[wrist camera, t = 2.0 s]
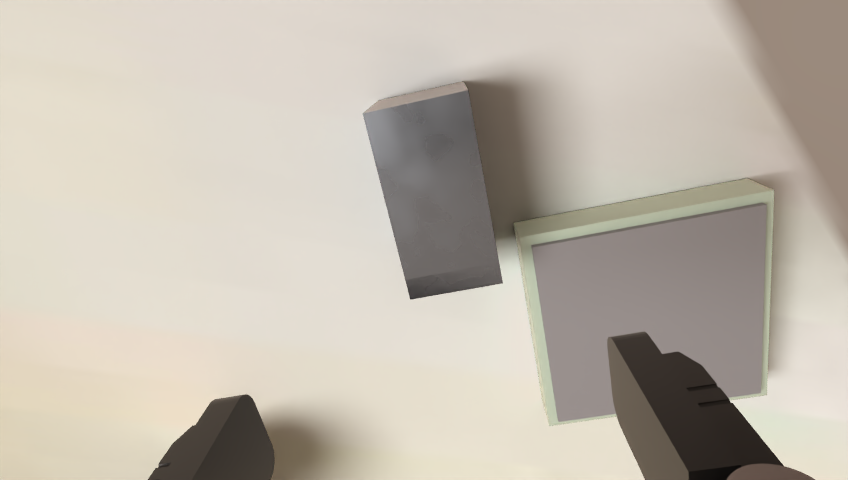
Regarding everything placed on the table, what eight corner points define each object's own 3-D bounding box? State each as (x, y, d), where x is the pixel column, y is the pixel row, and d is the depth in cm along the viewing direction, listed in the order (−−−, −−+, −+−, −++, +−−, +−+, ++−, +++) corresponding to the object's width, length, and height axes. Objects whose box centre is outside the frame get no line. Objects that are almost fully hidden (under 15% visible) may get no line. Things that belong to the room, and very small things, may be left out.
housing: (378, 100, 29) (362, 113, 23) (463, 81, 28) (468, 89, 23) (416, 255, 32) (410, 299, 27) (492, 241, 32) (502, 283, 26)
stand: (513, 222, 31) (520, 240, 28) (747, 178, 30) (778, 192, 27) (542, 400, 36) (550, 430, 33) (744, 370, 34) (770, 399, 32)
